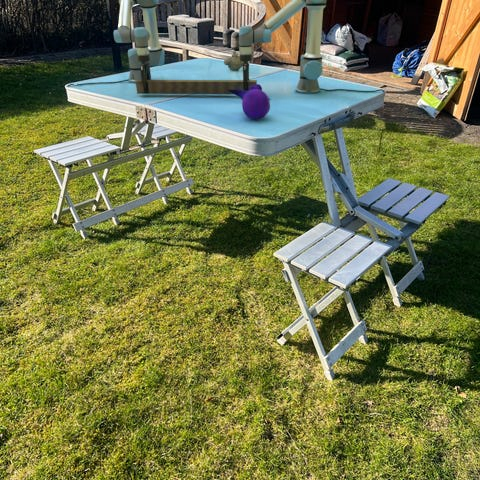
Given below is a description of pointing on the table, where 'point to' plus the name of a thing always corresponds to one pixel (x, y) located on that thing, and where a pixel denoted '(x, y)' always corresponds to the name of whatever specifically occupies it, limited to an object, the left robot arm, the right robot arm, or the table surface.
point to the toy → (254, 102)
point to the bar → (192, 86)
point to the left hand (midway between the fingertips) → (148, 92)
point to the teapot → (234, 62)
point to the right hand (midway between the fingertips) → (246, 92)
